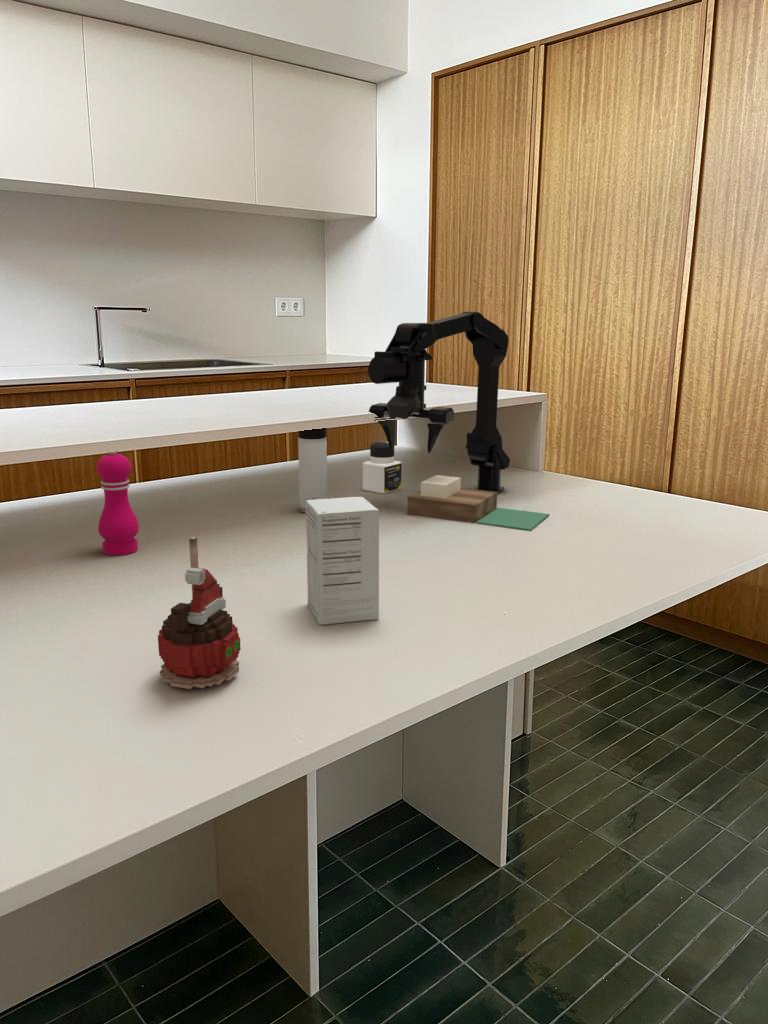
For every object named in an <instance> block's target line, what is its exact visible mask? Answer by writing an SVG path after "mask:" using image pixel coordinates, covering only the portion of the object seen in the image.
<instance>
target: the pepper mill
mask: <svg viewBox="0 0 768 1024" xmlns="http://www.w3.org/2000/svg"><path fill="white" fill-rule="evenodd" d="M118 452H119V451H115V452H108V451H107V453H108V454H105V455H103V456H102V457H100V458H99V459H98V461H97V463H96V473H97V474H98V476H99V477H100V479H102V480H101V481H100V484H101V486H100V487H101V488H100V489H102V490H103V494H104V504H103V509H102V512H101V514H100V517H99V521H98V527H97V528H98V529H97V530H98V534H99V535H100V537H101V538H103V540H104V541H103V542H102V544H101V545H102V552H103V553H104V554H105V555H108V556H126V555H129V554H134V553H135V552H137V551H138V549H139V546H138V545H139V544H138V539H136V538H135V537H136V536H137V535H138V534H139V531H140V526H139V521H138V518H137V515H136V514H135V513H134V511H133V509H132V507H131V504H130V501H129V494H128V493H129V492H128V489H129V488H130V486H131V485H130V480H129V478H128V477H129V476H130V475H131V472H132V464H131V461H130V460H129V458H128V457H126V456H125V455H123V454H120V453H118Z"/></svg>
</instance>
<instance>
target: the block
mask: <svg viewBox="0 0 768 1024" xmlns="http://www.w3.org/2000/svg"><path fill="white" fill-rule="evenodd" d="M461 482H462V477H458V476H448V475H439V474H437V475H434V476H432V477H430V478H427V479H426V480H422V481H421V482H420V491H421V493H420V496H428V497H436V498H444V499H446V498H447V497H449V496H451V495H453V494H455V493H457V492H459V491H460V489H461V488H462V487H461Z"/></svg>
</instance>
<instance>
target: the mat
mask: <svg viewBox="0 0 768 1024" xmlns="http://www.w3.org/2000/svg"><path fill="white" fill-rule="evenodd" d="M549 516H550V513H544V512H538V511H537V512H535V511H528V510H522V509H521V510H520V509H512V508H506V507H505V508H504V507H503V508H502V507H497V508H496V509H495V510H493V511H492V512H490V513H489V514H487V515H486V516H484V517H483V518H481V519H480V520H478V521H477V522H476V523H477V524H476V523H475V524H476V525H484V526H491V527H497V528H506V529H511V530H513V529H514V530H521V531H526V532H527V531H529V532H532V531H533V530H534V529H535V528H537V526H539V525H540V524H541V523H542V522H544V521H545V520H546V519H547V518H549Z"/></svg>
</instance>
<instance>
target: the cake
mask: <svg viewBox="0 0 768 1024" xmlns="http://www.w3.org/2000/svg"><path fill="white" fill-rule="evenodd" d="M188 539H189V541H188V542H189V543H188V544H189V558H190V559H189V561H190V567H189V568H188V569H186V570H185V572H186V573H184V579H185V582H186V584H188V585H191V597H192V599H191V600H190V602H189V603H186V602H179V603H177V604H175V605H173V606H172V607H171V608H170V614H169V615H167V618H166V619H164V620H163V621H162V623H163V624H162V625H161V629H158V635H157V642H158V643H157V645H158V647H157V648H158V656H159V657H160V659H161V660H162V662H163V664H161V666H160V668H161V669H160V670H159V673H160V674H159V675H160V676H161V679H162V680H163V682H164V683H169V684H170V686H171V687H176V688H182V689H188V690H191V689H193V688H194V687H195V688H199V689H205V687H213V685H216V686H219V685H220V684H222V682H224V681H231V680H232V679H233V678H234V677H235V676H236V675H237V674H238V673H239V672H240V662H239V661H238V660H237V659H238V658H239V654H240V651H241V649H242V648H241V637H240V635H239V632H238V631H239V630H238V626H236V624H235V623H234V622H233V616H231V614H230V613H228V610H224V609H226V607H227V605H226V604H227V603H226V599H225V598H224V595H223V586H220V584H221V583H218V581H217V579H216V578H215V576H213V574H212V573H211V572H210V571H209V569H206V568H202V567H199V551H198V550H199V549H198V548H199V547H198V538H197V537H195V536H191V537H190V538H188Z"/></svg>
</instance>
